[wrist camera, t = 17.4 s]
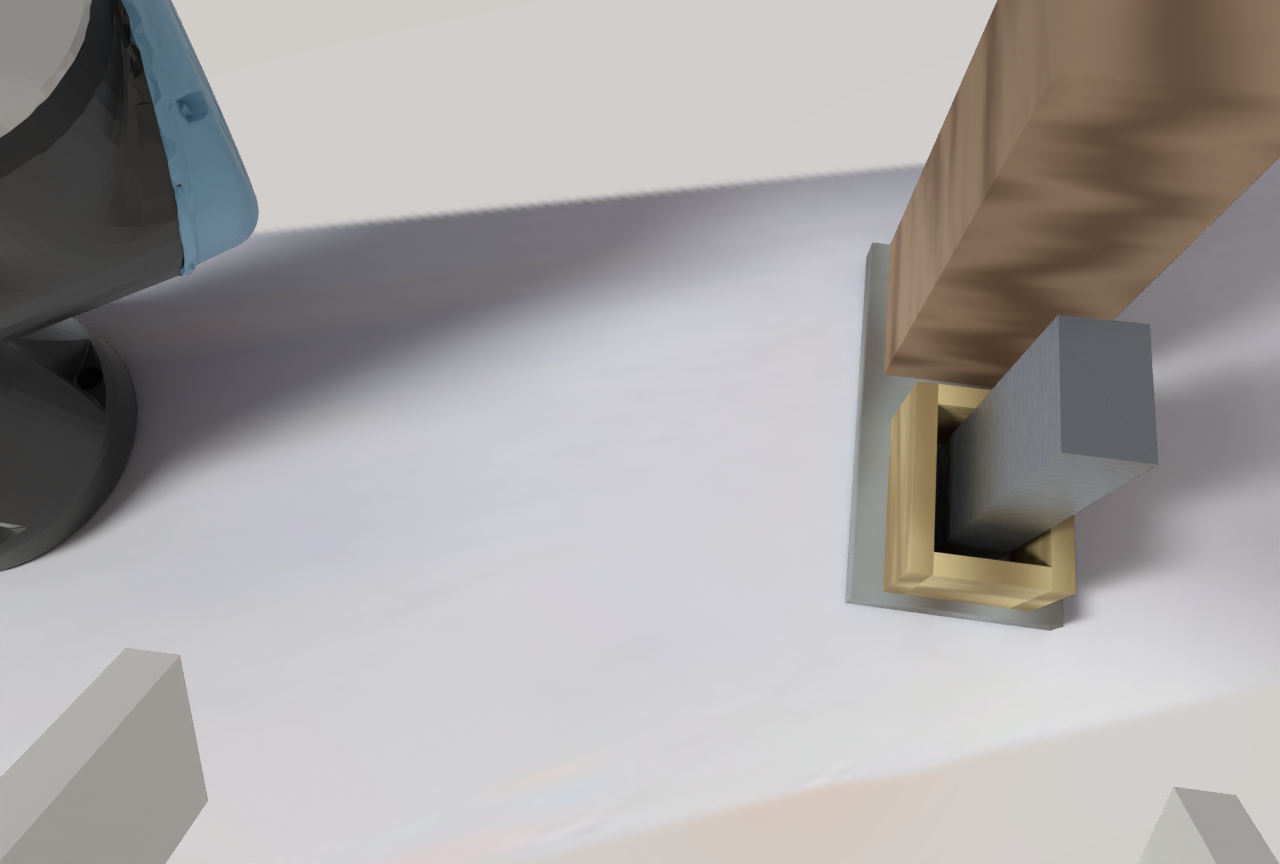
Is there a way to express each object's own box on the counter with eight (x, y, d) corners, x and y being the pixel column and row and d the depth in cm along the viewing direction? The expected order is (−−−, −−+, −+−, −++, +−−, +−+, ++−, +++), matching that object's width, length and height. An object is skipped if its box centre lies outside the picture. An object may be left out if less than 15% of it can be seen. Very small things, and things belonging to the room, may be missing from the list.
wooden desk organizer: (845, 602, 44) (1022, 450, 22) (866, 256, 51) (1019, -124, 29) (1050, 630, 44) (1444, 500, 21) (1044, 275, 50) (1340, -101, 28)
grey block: (924, 557, 43) (1061, 452, 28) (927, 461, 45) (1058, 314, 30) (987, 566, 43) (1157, 464, 28) (987, 469, 45) (1149, 324, 30)
